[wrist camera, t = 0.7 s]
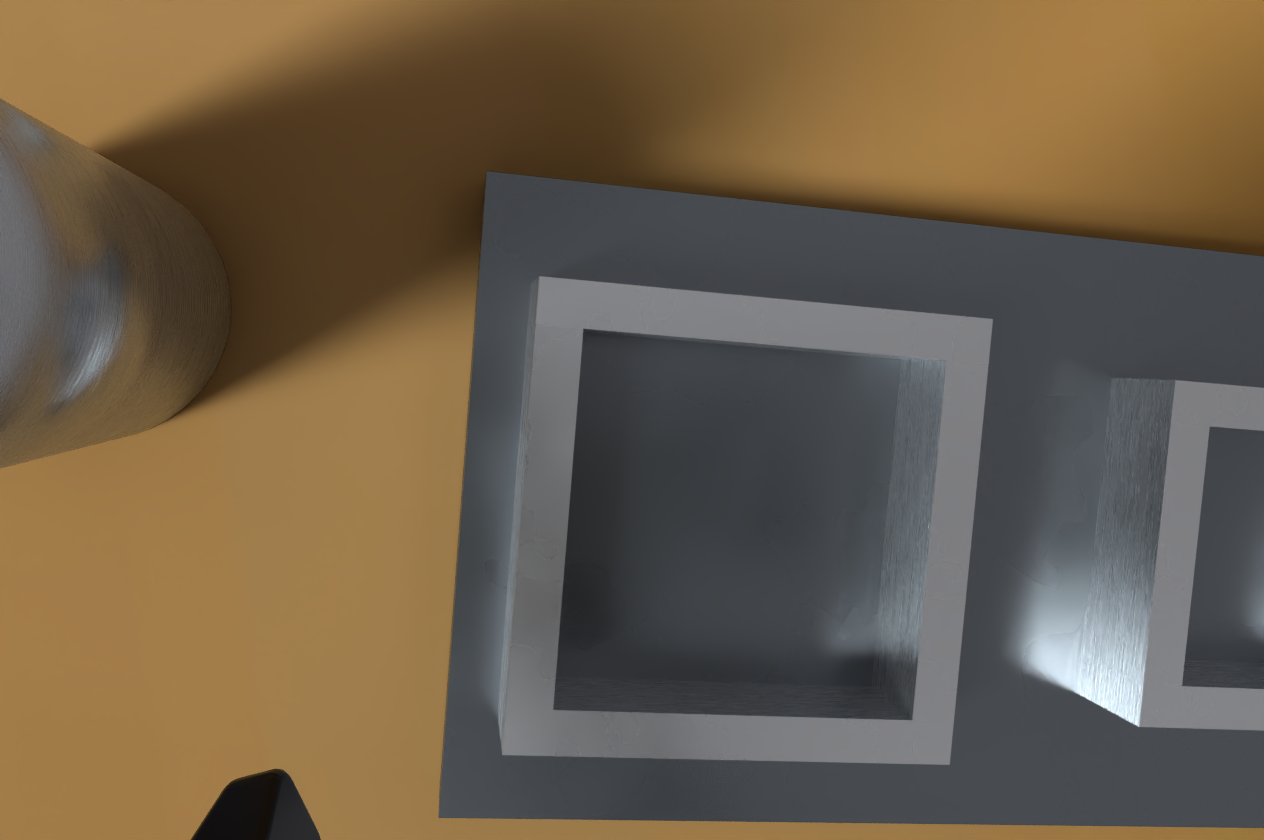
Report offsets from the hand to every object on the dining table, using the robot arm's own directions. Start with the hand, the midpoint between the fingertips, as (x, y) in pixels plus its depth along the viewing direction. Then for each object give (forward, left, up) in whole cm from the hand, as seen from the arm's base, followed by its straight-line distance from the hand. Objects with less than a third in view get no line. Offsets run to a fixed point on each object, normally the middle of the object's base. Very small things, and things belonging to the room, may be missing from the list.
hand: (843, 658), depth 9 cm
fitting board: (-1, -8, -13) cm, 15 cm away
